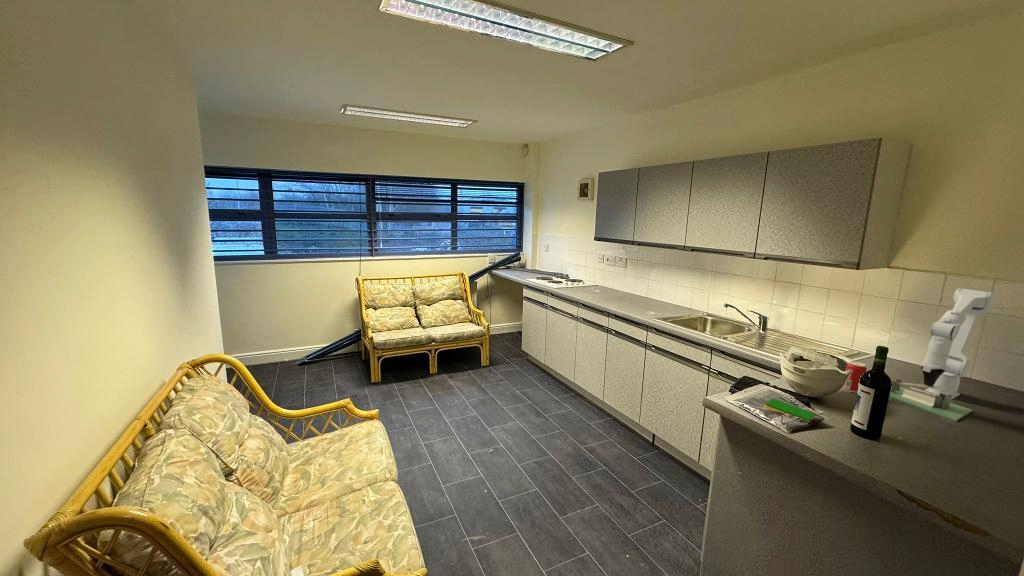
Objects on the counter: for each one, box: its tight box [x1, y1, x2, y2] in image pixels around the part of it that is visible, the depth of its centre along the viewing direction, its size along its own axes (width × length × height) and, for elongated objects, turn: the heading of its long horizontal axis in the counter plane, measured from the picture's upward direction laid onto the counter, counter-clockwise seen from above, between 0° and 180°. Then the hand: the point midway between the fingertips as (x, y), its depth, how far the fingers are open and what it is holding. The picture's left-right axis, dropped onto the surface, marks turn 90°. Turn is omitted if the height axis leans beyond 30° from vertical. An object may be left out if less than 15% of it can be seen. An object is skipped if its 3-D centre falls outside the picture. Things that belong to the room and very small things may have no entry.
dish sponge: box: [764, 398, 816, 421], centre depth 146 cm, size 7×14×2 cm, turn 37°
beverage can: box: [842, 360, 868, 394], centre depth 164 cm, size 6×6×12 cm
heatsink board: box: [889, 378, 973, 422], centre depth 157 cm, size 16×24×6 cm, turn 28°
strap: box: [897, 382, 946, 390], centre depth 157 cm, size 3×14×1 cm, turn 28°
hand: (928, 385), depth 155 cm, fingers closed, pressing on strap
